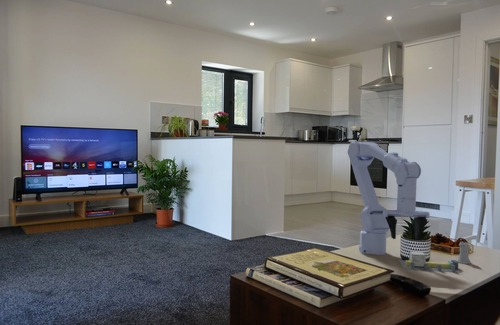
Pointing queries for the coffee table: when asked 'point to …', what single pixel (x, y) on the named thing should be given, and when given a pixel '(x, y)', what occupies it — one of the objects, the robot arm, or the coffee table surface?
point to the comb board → (432, 266)
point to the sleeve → (417, 258)
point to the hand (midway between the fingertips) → (405, 238)
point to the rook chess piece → (463, 253)
